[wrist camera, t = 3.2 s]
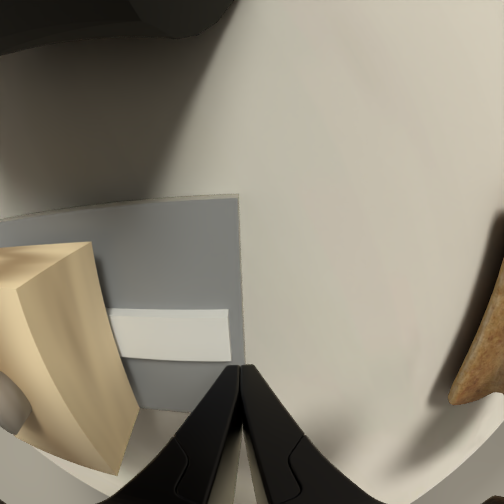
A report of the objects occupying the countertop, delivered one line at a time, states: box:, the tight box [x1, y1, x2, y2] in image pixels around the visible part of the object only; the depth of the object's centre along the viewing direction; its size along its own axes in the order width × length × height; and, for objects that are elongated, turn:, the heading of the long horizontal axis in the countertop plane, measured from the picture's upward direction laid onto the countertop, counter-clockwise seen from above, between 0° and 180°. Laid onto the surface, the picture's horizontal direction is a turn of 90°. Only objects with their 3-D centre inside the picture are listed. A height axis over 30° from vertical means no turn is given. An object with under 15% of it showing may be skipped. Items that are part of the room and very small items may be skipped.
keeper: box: [0, 241, 140, 476], centre depth 7 cm, size 6×8×5 cm
